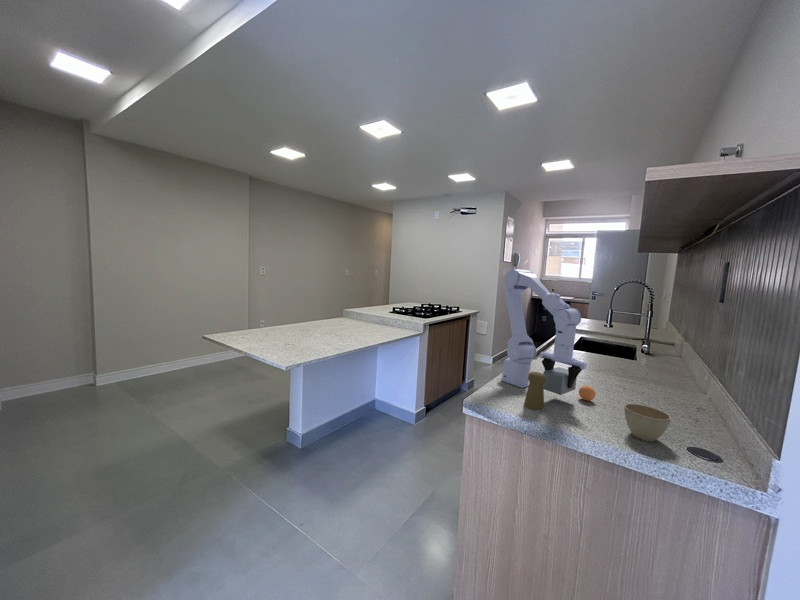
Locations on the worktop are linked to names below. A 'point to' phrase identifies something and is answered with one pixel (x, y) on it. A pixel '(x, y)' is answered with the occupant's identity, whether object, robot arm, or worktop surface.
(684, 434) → the worktop surface
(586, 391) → the ball
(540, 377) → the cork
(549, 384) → the grey rectangular block
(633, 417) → the pale yellow bowl
